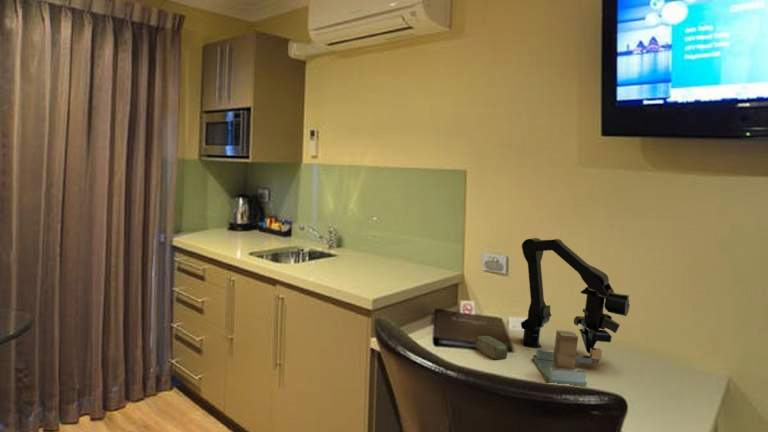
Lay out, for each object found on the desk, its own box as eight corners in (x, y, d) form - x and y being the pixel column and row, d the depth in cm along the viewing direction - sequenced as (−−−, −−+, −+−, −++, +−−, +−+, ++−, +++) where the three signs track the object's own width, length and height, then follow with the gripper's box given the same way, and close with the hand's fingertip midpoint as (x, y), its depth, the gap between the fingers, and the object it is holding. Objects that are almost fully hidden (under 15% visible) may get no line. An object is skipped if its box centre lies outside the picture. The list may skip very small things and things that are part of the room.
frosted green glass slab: (532, 359, 168) (534, 346, 168) (565, 362, 168) (566, 349, 167) (549, 384, 149) (550, 369, 148) (586, 387, 148) (587, 373, 148)
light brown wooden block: (536, 356, 166) (537, 342, 165) (597, 361, 165) (599, 348, 165) (537, 358, 164) (539, 345, 163) (600, 364, 163) (601, 350, 163)
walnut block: (552, 369, 156) (556, 329, 155) (567, 370, 156) (572, 331, 155) (556, 376, 151) (561, 335, 150) (573, 377, 151) (578, 336, 150)
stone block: (494, 361, 164) (496, 346, 163) (473, 349, 174) (474, 335, 173) (508, 359, 166) (509, 345, 166) (486, 347, 177) (487, 334, 176)
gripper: (630, 319, 158) (624, 365, 160) (607, 303, 177) (601, 345, 179) (595, 316, 159) (589, 362, 160) (575, 300, 177) (570, 342, 179)
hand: (588, 352), depth 170 cm, fingers closed
